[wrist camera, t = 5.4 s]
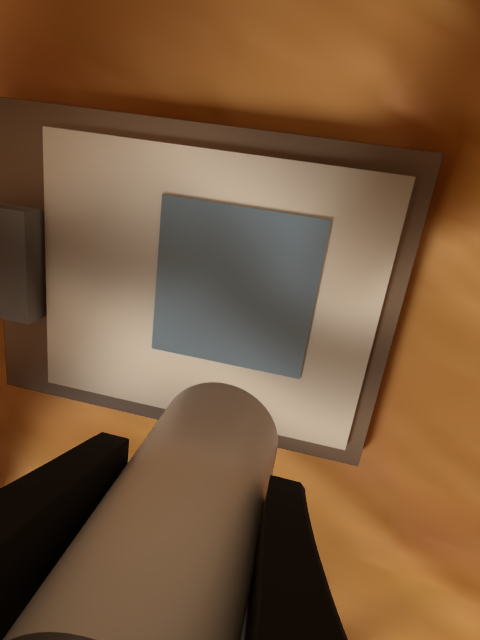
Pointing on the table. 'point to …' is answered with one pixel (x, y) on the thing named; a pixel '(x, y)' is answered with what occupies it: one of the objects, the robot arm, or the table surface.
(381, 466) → the table surface
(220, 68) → the table surface
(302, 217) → the picture frame
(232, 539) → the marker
